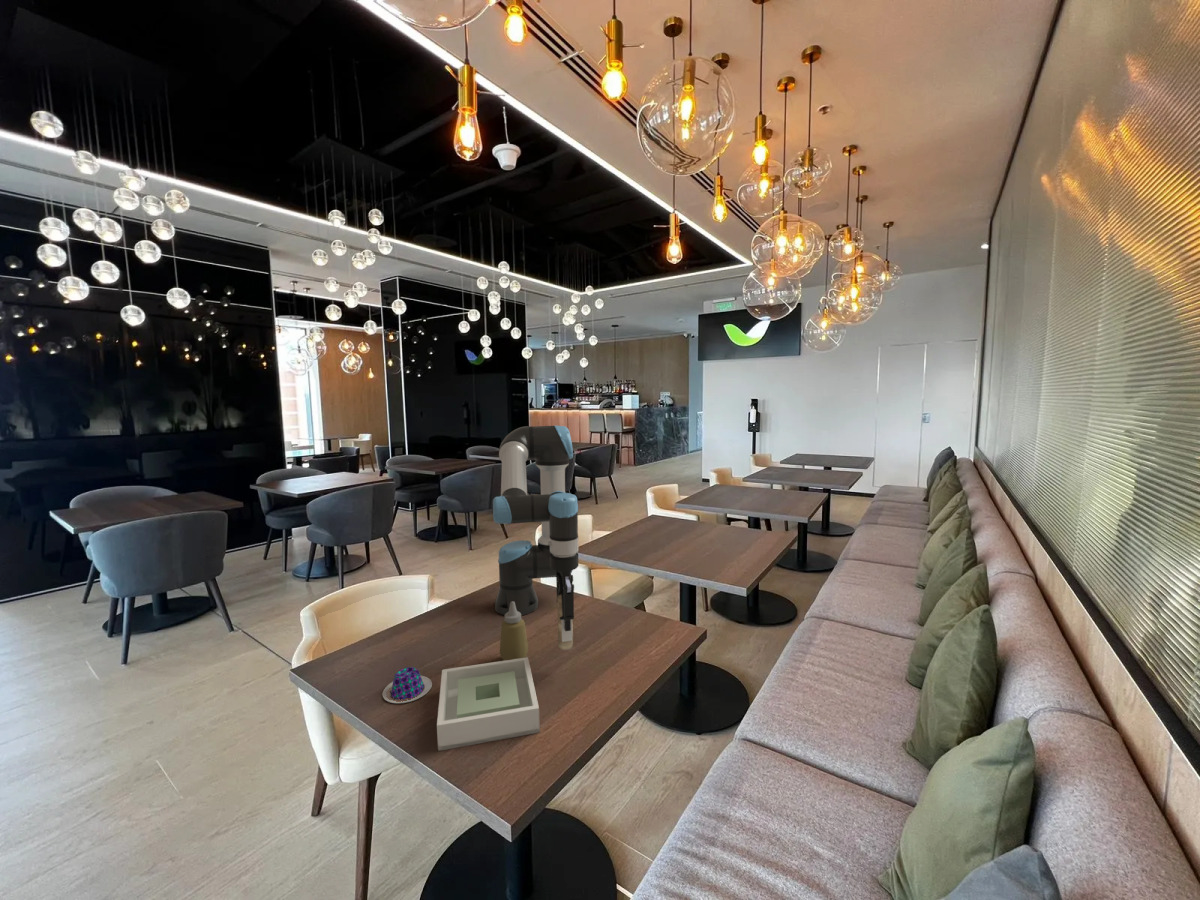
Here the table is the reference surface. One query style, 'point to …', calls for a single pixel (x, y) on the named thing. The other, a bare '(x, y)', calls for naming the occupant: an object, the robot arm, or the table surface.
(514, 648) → the squeeze bottle
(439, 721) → the open box
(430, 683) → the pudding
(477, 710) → the bore plate
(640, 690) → the table surface
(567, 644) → the peg
